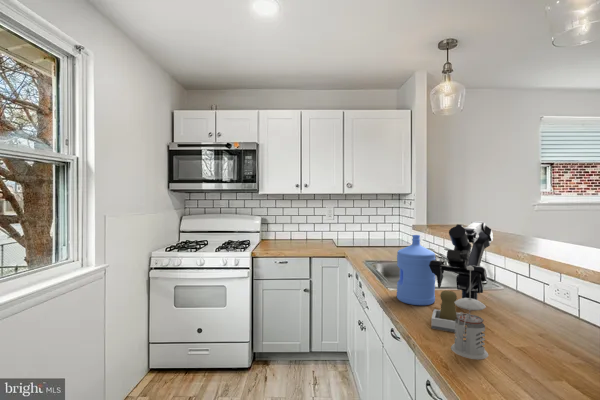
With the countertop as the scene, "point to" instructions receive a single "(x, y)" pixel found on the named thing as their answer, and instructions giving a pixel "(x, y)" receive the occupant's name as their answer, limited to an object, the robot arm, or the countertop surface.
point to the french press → (469, 329)
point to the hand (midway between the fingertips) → (452, 290)
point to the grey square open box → (442, 322)
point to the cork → (448, 305)
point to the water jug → (415, 274)
